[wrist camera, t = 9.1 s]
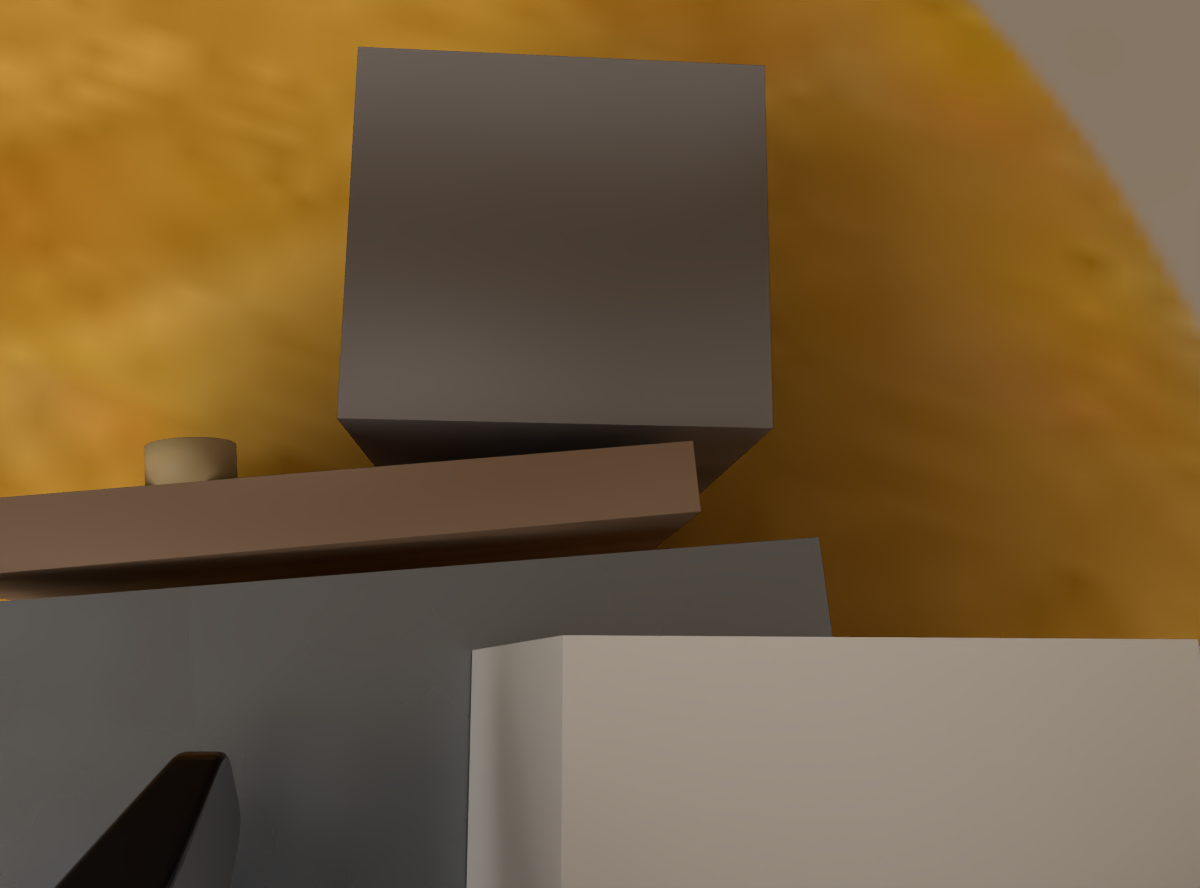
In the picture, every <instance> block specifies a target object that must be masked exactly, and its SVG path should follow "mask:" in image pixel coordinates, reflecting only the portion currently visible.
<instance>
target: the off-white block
mask: <svg viewBox="0 0 1200 888" xmlns="http://www.w3.org/2000/svg"><path fill="white" fill-rule="evenodd" d="M467 888H1200V652H1199V643H1198V639H1066V638H913V637H760V636H608V635H561V636H555V637H549V638H543V639H537V640H531V641H525V642H519V643H513V644H507V645H501V646H495V647H489V648H483V649H477V650H472V683H471V725H470V766H469V808H468V849H467Z"/></svg>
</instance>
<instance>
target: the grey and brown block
mask: <svg viewBox="0 0 1200 888" xmlns="http://www.w3.org/2000/svg"><path fill="white" fill-rule="evenodd" d="M561 635H608V636H760V637H832V630H831V623H830V615H829V608H828V600H827V593H826V585H825V578H824V570H823V563H822V556H821V548H820V541H819V537H813V538H800V539H788V540H775V541H762V542H749V543H737V544H724V545H711V546H699V547H686V548H673V549H660V550H648V551H635V552H622V553H610V554H597V555H584V556H571V557H559V558H546V559H533V560H521V561H508V562H495V563H483V564H470V565H457V566H444V567H432V568H419V569H406V570H394V571H381V572H368V573H355V574H343V575H330V576H317V577H305V578H292V579H279V580H266V581H254V582H241V583H228V584H216V585H203V586H190V587H177V588H165V589H152V590H139V591H127V592H114V593H101V594H88V595H76V596H63V597H50V598H38V599H25V600H12V601H0V888H53V887H54V886H55V885H56V884H57V883H58V882H59V881H60V880H61V879H62V878H63V877H64V875H65V874H66V873H67V872H68V871H69V870H70V869H71V868H72V867H73V866H74V865H75V863H76V862H77V861H78V860H79V859H80V858H81V857H82V856H83V855H84V854H85V853H86V851H87V850H88V849H89V848H90V847H91V846H92V845H93V844H94V843H95V842H96V841H97V840H98V838H99V837H100V836H101V835H102V834H103V833H104V832H105V831H106V830H107V829H108V828H109V826H110V825H111V824H112V823H113V822H114V821H115V820H116V819H117V818H118V817H119V816H120V814H121V813H122V812H123V811H124V810H125V809H126V808H127V807H128V806H129V805H130V804H131V802H132V801H133V800H134V799H135V798H136V797H137V796H138V795H139V794H140V793H141V792H142V791H143V789H144V788H145V787H146V786H147V785H148V784H149V783H150V782H151V781H152V780H153V779H154V777H155V776H156V775H157V774H158V773H159V772H160V771H161V770H162V769H163V768H164V767H165V765H166V764H167V763H168V762H169V761H170V760H171V759H172V758H173V757H174V756H176V755H177V754H179V753H182V752H186V751H219V752H224V753H225V754H226V755H227V756H228V758H229V760H230V763H231V767H232V772H233V777H234V782H235V787H236V792H237V797H238V802H239V807H240V815H241V826H240V836H239V842H238V848H237V854H236V860H235V865H234V871H233V877H232V883H231V888H467V849H468V808H469V766H470V725H471V683H472V650H477V649H483V648H489V647H495V646H501V645H507V644H513V643H519V642H525V641H531V640H537V639H543V638H549V637H555V636H561Z"/></svg>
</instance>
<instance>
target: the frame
mask: <svg viewBox="0 0 1200 888" xmlns="http://www.w3.org/2000/svg"><path fill="white" fill-rule="evenodd" d="M699 512H701V507H700V499H699V490H698V481H697V473H696V464H695V455H694V446H693V441H685V442H672V443H660V444H648V445H636V446H624V447H611V448H599V449H587V450H575V451H563V452H551V453H538V454H526V455H514V456H502V457H490V458H477V459H465V460H453V461H441V462H429V463H417V464H404V465H392V466H380V467H368V468H356V469H343V470H331V471H319V472H307V473H295V474H283V475H270V476H258V477H246V478H237V456H236V444H235V443H234V442H232V441H229V440H225V439H219V438H208V437H183V438H171V439H164V440H158V441H154V442H151V443H148V444H146V445H145V486H136V487H124V488H112V489H100V490H88V491H75V492H63V493H51V494H39V495H27V496H14V497H2V498H0V599H8V600H25V599H38V598H50V597H63V596H76V595H88V594H101V593H114V592H127V591H139V590H152V589H165V588H177V587H190V586H203V585H216V584H228V583H241V582H254V581H266V580H279V579H292V578H305V577H317V576H330V575H343V574H355V573H368V572H381V571H394V570H406V569H419V568H432V567H444V566H457V565H470V564H483V563H495V562H508V561H521V560H533V559H546V558H559V557H571V556H584V555H597V554H610V553H622V552H635V551H648V550H653V549H654V548H655V547H656V546H658V545H659V544H660V543H662V542H663V541H664V540H665V539H667V538H668V537H669V536H670V535H672V534H673V533H674V532H675V531H677V530H678V529H679V528H680V527H682V526H683V525H684V524H686V523H687V522H688V521H689V520H691V519H692V518H693V517H694V516H696V515H697V514H698V513H699Z"/></svg>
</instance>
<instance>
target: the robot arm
mask: <svg viewBox="0 0 1200 888" xmlns="http://www.w3.org/2000/svg"><path fill="white" fill-rule="evenodd" d="M240 826H241V815H240V807H239V802H238V797H237V792H236V787H235V782H234V777H233V772H232V767H231V763H230V760H229V758H228V756H227V755H226V754H225V753H224V752H219V751H186V752H182V753H179V754H177V755H176V756H174V757H173V758H172V759H171V760H170V761H169V762H168V763H167V764H166V765H165V767H164V768H163V769H162V770H161V771H160V772H159V773H158V774H157V775H156V776H155V777H154V779H153V780H152V781H151V782H150V783H149V784H148V785H147V786H146V787H145V788H144V789H143V791H142V792H141V793H140V794H139V795H138V796H137V797H136V798H135V799H134V800H133V801H132V802H131V804H130V805H129V806H128V807H127V808H126V809H125V810H124V811H123V812H122V813H121V814H120V816H119V817H118V818H117V819H116V820H115V821H114V822H113V823H112V824H111V825H110V826H109V828H108V829H107V830H106V831H105V832H104V833H103V834H102V835H101V836H100V837H99V838H98V840H97V841H96V842H95V843H94V844H93V845H92V846H91V847H90V848H89V849H88V850H87V851H86V853H85V854H84V855H83V856H82V857H81V858H80V859H79V860H78V861H77V862H76V863H75V865H74V866H73V867H72V868H71V869H70V870H69V871H68V872H67V873H66V874H65V875H64V877H63V878H62V879H61V880H60V881H59V882H58V883H57V884H56V885H55V886H54V887H53V888H231V883H232V877H233V871H234V865H235V860H236V854H237V848H238V842H239V836H240Z"/></svg>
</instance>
